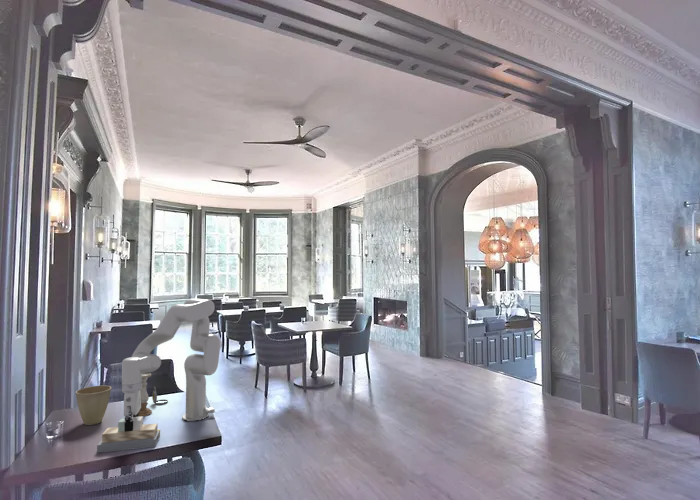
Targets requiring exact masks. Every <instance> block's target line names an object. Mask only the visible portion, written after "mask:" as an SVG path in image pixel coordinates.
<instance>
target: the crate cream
mask: <svg viewBox="0 0 700 500" xmlns="http://www.w3.org/2000/svg"><path fill="white" fill-rule="evenodd" d="M132 421H133V430H140V429H141V428H142V426H143V425H144V416H141V417H133V419H132Z"/></svg>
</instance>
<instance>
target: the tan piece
mask: <svg viewBox="0 0 700 500" xmlns="http://www.w3.org/2000/svg"><path fill="white" fill-rule="evenodd" d="M158 424H159V423H148V424H147V423H146V424H143V426H142V428H141V429H140V430H133V431H127V432H125V431H122V432H118V426H114V427H107V428H106V429H105V430H104V432H102V434H101V436H102V437H101V440H102V443H105V442H115V441H125V440H135V439H146V438H154V437H155V435H156V433H157V430H158Z"/></svg>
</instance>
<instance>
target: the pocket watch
mask: <svg viewBox="0 0 700 500" xmlns="http://www.w3.org/2000/svg"><path fill="white" fill-rule="evenodd" d="M153 388H154V389H153V391H152V395H151V396H152V403H153V404H155V405H158V404H159V405H164V403H165V404H167V403H168V402H169V401H168V399H158V394H157V393H158V392H157V391H156V390H157V389H156V386H153ZM158 401H167V403H166V402H164V403H156V402H158Z"/></svg>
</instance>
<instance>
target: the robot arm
mask: <svg viewBox="0 0 700 500" xmlns="http://www.w3.org/2000/svg"><path fill="white" fill-rule="evenodd" d="M215 307H216V306H215V303H214V302H213V301H212V300H210V299H204V298H189V299H187V300H185V301H184V303H183V304H178V303H177V304H173V305H171V306H170V308H169V309H168V310H167V312H166V313H165V314H164V317H163V318H162V319H161V321H160V323H159V325H158V326H157V328H156V329H155V330H154V331H153V332H151V333H150V334H148V336H147V337H145V338H144V339H143V340H142V341H141V342H140V343H139V344H138V345H137V347H136V348H135V350H134V351H133V353H132V355H131V357H126V358H124V359H123V360H122V361H121V392H122V393H124V395H123V416H124V418H125V422H124V431H125V432H127V431H133V421H132V419H133V417H139V413H138V412H139V410H140V409H141V395H140V390H141V373H152V372H155V371H156V370H158V369H159V368H160V366H161V365H162V359H161V357H160V356H159V355H157V354H154V353H153V354H152V353H151V352H152V351H153V350H154V349H155V348H157V347H158V346H159V345H162V344H164V343H166V342H169V341H171V340H172V339H173V338H174V337H175V335H176V334H177V332H178V331H179V328H180V327H181V325H182V324H183V323H187V324H188V323H191V325H192V326H191V333H190V334H191V335H190V342H189V343H190V344H189V346H190V349H191V350H192V351H193V352H194V351H195V352H198V353H194V354H189V355H188V356H187V357H186V358H185V360H184V365H183V366H184V367H183V368H184V372H185V374H184V375H185V413H184V414H183V415H181V416H182V417H181V419H182V420H183V421H184V420H187V421H186V422H194V421H193V420H199V421H202V420H201V419H203V418H205V419H207V418H208V417H209V414H214V413H216V412H215V408H213V407H209V408H208V407H207V405H206V402H207V401H206V400H207V399H206V398H207V395H206V394H207V380H206V379H207V378H206V376H212V375H213V374H215V373H216V371H217V369H218V366H219V362H220V361H219V359H220V353H221V351H220V350H221V340H220V338H219V336H218V335H217V334H214V333H210V328H211V327H210V325H211V324H210V318H209V317H210V316H211V315H212V314H214V311H215ZM199 353H203V354H199ZM130 417H131V418H130ZM206 417H207V418H206ZM203 420H204V419H203Z"/></svg>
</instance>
